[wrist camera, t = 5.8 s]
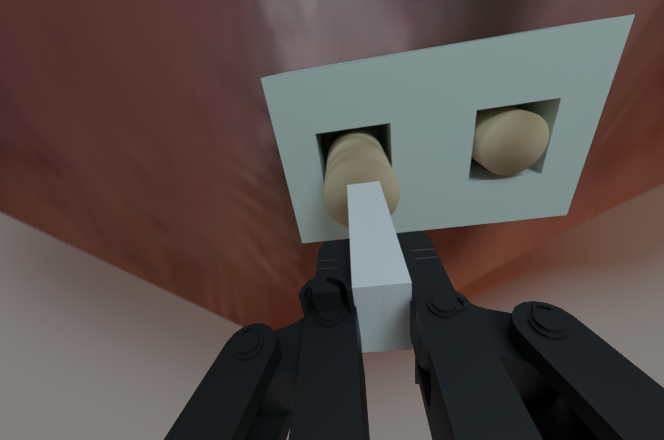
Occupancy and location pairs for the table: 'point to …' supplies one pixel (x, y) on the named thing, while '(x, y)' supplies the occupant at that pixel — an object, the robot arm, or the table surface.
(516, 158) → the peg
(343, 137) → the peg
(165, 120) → the table surface
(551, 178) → the socket block
